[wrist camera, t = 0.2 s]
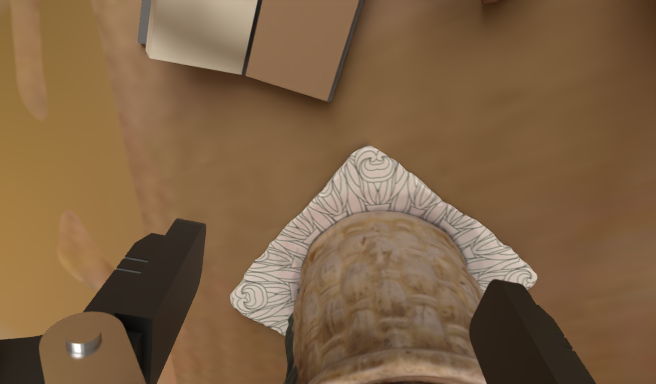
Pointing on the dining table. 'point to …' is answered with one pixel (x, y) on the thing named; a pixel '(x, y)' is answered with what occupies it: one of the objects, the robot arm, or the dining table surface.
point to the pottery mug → (489, 1)
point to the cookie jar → (377, 281)
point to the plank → (201, 32)
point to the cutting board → (294, 43)
